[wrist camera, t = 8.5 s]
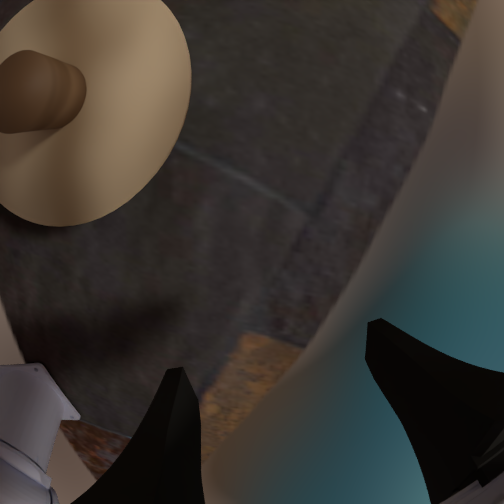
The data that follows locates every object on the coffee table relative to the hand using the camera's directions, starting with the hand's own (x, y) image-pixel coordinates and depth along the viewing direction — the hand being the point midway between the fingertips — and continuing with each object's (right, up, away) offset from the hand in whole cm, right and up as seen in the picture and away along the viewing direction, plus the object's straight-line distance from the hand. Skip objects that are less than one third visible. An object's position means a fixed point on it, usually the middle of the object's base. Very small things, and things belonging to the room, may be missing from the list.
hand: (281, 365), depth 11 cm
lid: (-10, +11, 0) cm, 15 cm away
